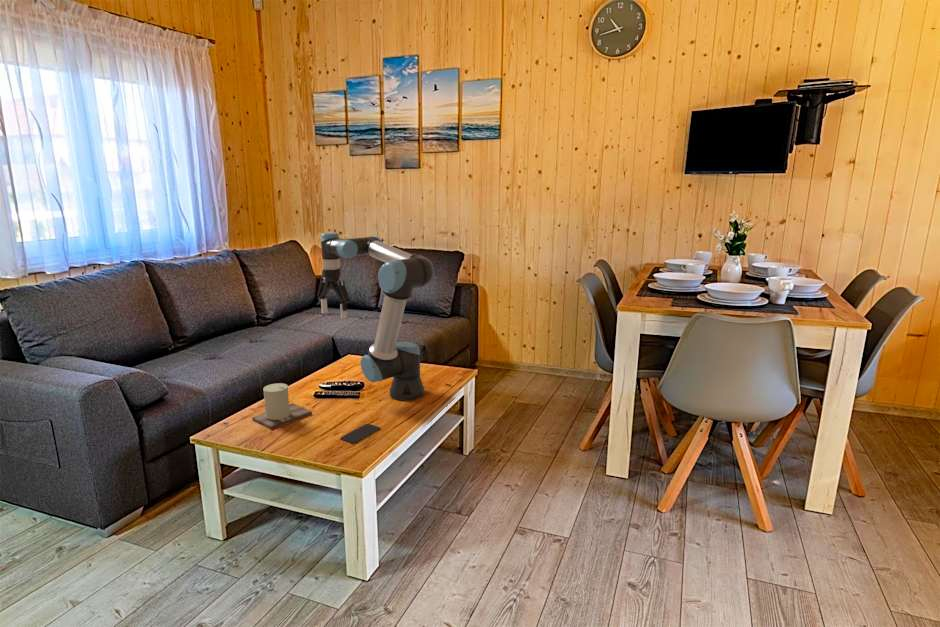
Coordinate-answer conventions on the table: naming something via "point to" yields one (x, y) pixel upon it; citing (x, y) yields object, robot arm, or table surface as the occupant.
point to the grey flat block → (295, 414)
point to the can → (276, 401)
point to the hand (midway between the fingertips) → (334, 315)
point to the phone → (360, 433)
